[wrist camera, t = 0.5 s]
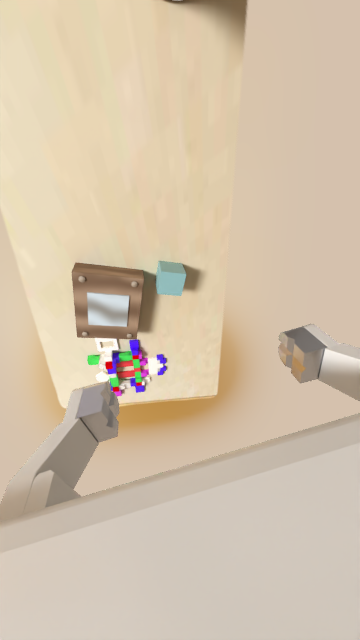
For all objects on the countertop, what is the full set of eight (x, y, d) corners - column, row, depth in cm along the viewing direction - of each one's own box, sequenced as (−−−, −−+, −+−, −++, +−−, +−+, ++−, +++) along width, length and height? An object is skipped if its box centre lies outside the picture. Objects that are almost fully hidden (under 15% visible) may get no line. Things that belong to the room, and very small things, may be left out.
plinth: (75, 262, 44) (71, 272, 41) (142, 270, 47) (143, 280, 44) (80, 325, 53) (77, 338, 50) (136, 328, 57) (136, 340, 53)
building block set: (165, 385, 75) (167, 397, 71) (101, 393, 71) (99, 406, 68) (165, 328, 59) (167, 339, 56) (82, 335, 56) (79, 348, 52)
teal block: (158, 260, 47) (161, 271, 43) (181, 263, 48) (186, 274, 44) (155, 281, 50) (157, 293, 46) (177, 284, 51) (181, 295, 47)
